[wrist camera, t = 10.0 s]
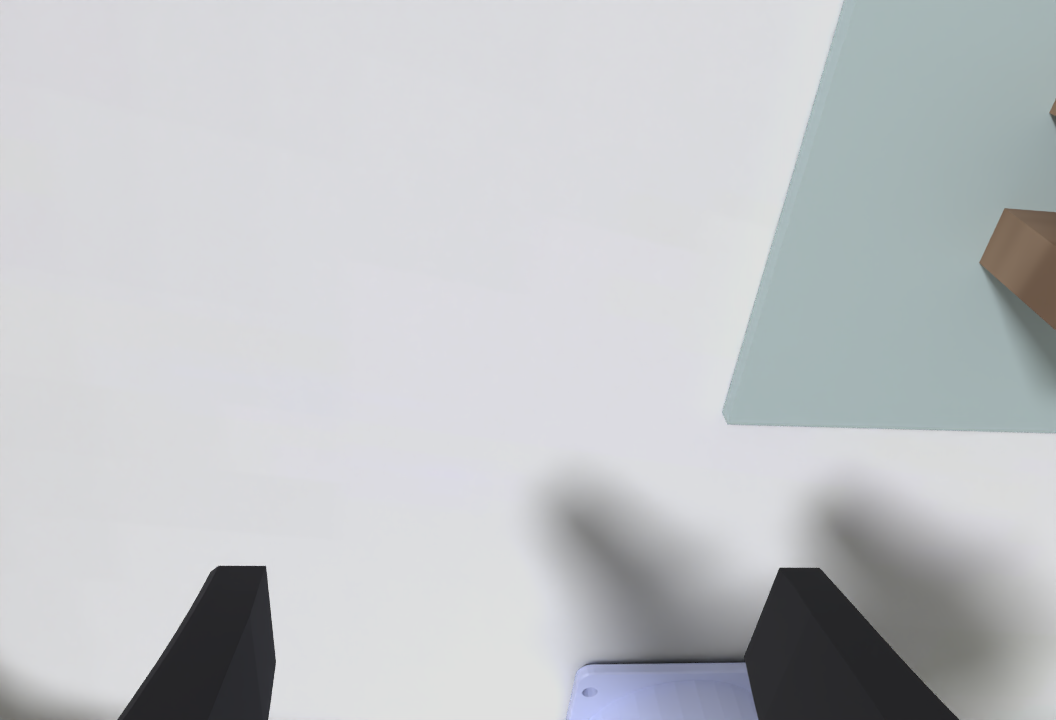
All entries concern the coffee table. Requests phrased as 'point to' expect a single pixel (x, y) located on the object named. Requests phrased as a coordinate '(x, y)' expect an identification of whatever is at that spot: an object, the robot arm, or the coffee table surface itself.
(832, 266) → the sage board
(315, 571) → the coffee table surface
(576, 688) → the robot arm
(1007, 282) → the walnut stool
